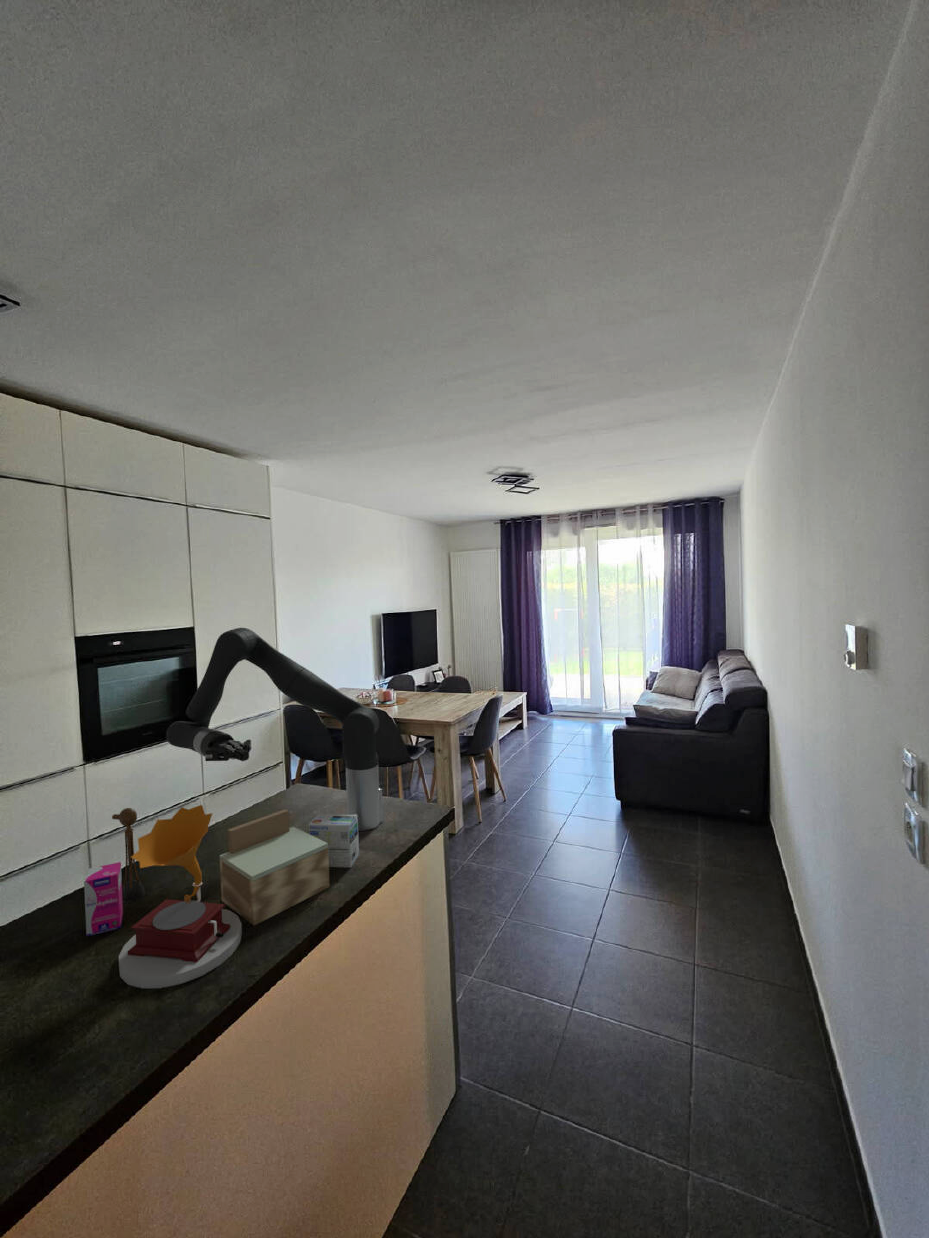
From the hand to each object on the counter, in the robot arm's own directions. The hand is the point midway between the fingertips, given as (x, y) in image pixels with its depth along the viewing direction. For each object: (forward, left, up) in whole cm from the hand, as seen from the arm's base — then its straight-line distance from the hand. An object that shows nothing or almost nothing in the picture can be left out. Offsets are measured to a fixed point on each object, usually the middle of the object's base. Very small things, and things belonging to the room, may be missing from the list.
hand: (245, 756), depth 136 cm
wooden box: (+5, +22, -26) cm, 34 cm away
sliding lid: (+5, +22, -16) cm, 28 cm away
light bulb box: (-12, +20, -26) cm, 35 cm away
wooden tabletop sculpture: (+26, -3, -26) cm, 37 cm away
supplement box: (+33, +5, -26) cm, 42 cm away
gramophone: (+26, +25, -26) cm, 44 cm away
